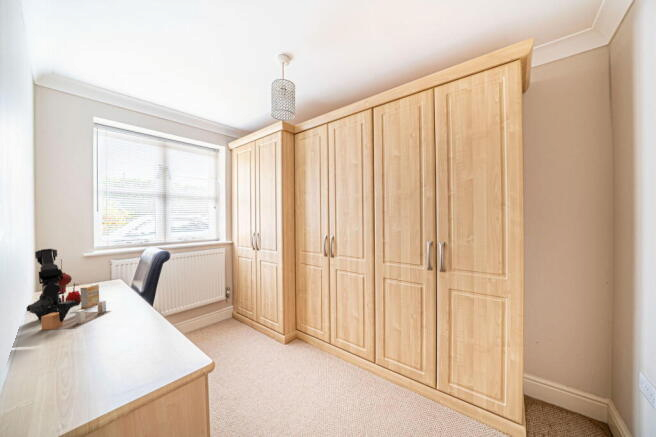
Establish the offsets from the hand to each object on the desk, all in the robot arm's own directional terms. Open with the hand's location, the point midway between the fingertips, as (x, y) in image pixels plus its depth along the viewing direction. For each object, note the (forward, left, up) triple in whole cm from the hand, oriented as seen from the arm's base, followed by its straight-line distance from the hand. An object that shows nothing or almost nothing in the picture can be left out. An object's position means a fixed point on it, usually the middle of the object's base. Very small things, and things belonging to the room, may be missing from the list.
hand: (52, 322), depth 132 cm
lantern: (-38, +47, -4) cm, 61 cm away
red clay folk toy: (-24, +39, -4) cm, 47 cm away
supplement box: (-10, +35, -4) cm, 37 cm away
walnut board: (+6, +8, -4) cm, 11 cm away
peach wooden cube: (0, 0, -3) cm, 3 cm away
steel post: (+10, +18, -4) cm, 21 cm away
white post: (+10, +4, -4) cm, 12 cm away
